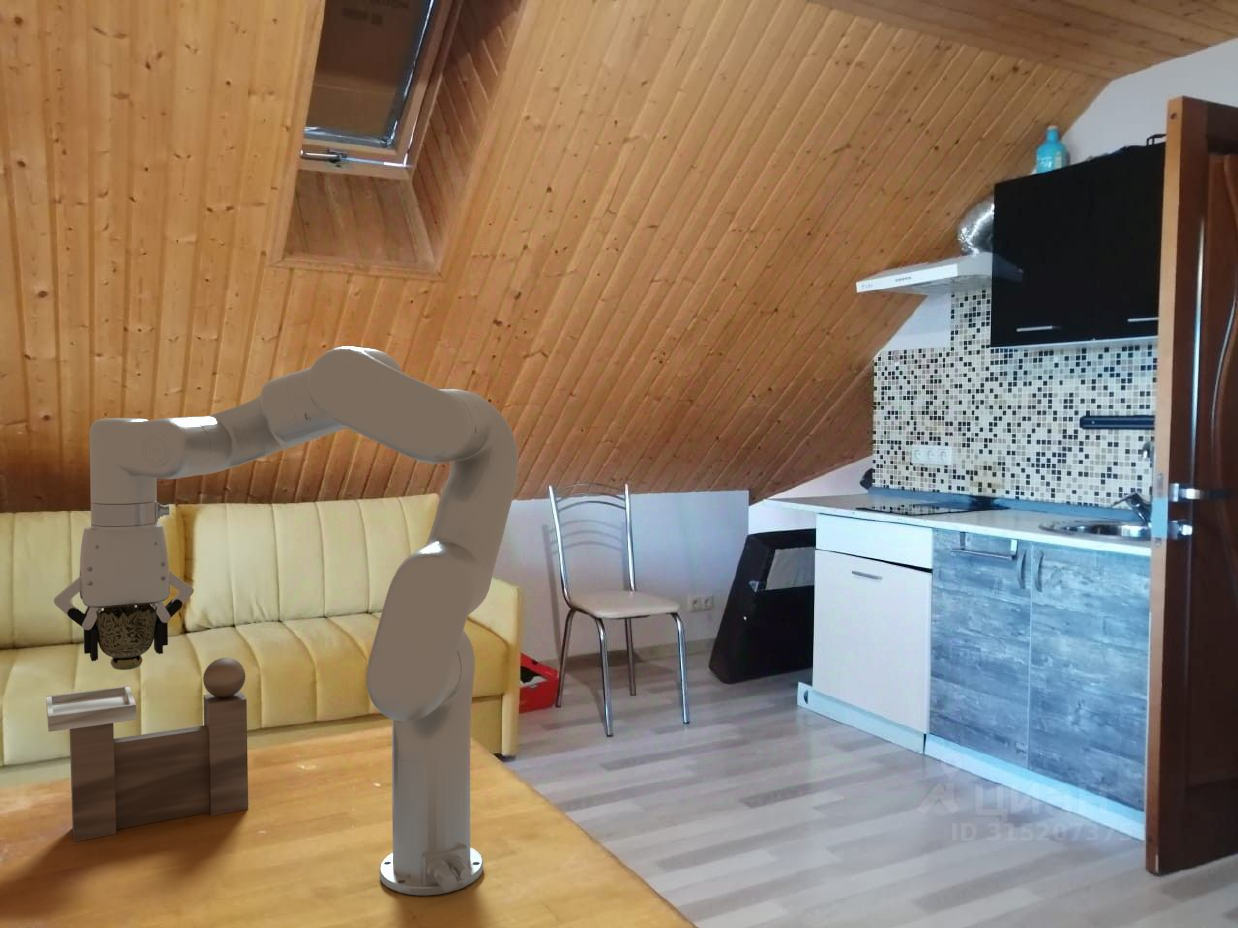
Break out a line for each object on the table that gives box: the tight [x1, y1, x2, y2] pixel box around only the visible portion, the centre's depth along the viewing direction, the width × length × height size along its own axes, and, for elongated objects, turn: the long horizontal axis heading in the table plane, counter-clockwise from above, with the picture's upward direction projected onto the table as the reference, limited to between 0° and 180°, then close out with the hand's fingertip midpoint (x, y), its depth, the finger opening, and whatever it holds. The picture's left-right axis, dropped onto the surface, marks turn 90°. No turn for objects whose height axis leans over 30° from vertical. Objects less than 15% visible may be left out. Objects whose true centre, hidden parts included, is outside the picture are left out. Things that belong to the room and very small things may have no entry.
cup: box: [95, 604, 157, 671], centre depth 130 cm, size 8×7×8 cm
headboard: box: [45, 657, 249, 843], centre depth 141 cm, size 10×25×22 cm, turn 120°
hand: (126, 653), depth 130 cm, fingers closed on cup, 6 cm apart
